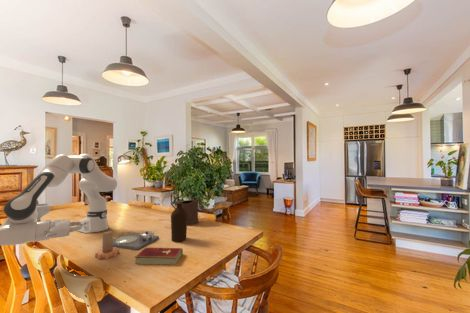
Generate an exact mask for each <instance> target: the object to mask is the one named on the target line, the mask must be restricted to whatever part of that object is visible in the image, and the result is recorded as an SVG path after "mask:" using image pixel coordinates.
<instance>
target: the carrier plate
mask: <svg viewBox="0 0 470 313" xmlns="http://www.w3.org/2000/svg"><path fill="white" fill-rule="evenodd" d="M159 239H160V236H159V235H155V233H154V232H153V231H144V232H139V233H137V232H128V233H127V232H126V233H125V234H122V235H121V236H118V237H116V238H113V248H114V247H117V248H119V249H121V248H122V249H127V250H134V251H138V250H140V249H142V248H145V247H146V246H147V245H149V244H151V243H153V242H155V241H157V240H159Z"/></svg>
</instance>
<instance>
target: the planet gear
mask: <svg viewBox="0 0 470 313" xmlns="http://www.w3.org/2000/svg"><path fill="white" fill-rule="evenodd" d="M113 239H114V231H111V230H110V231H104V232H102V240H101V241H102V243H101V244H102V245H101V246H102V248H101V249H99V250H98V251H97V252H95V253H94V258H96V260H101V259H105V260H109V258H112V257H113V258H114V257H117V256H118V254H120V248H118V247H113Z"/></svg>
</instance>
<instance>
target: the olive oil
mask: <svg viewBox="0 0 470 313" xmlns="http://www.w3.org/2000/svg"><path fill="white" fill-rule="evenodd" d="M175 208H176V209H174V210H173V211H172V212H171V215H170V227H171V230H170V231H171V234H170V236H171V241H172V243H173V242H174V243H181V242H185V241H186V240H187V231H188V230H187V229H188V226H187V212H186V211H185V210H184V209H183V208H182V200H179V201H178V200H177V201H176V206H175Z"/></svg>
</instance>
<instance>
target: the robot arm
mask: <svg viewBox="0 0 470 313" xmlns="http://www.w3.org/2000/svg"><path fill="white" fill-rule="evenodd" d="M69 174H81V176H82V177H83V178H81V179H80V180H79V182H78V189H79V190H80V191H81V192H82V193H84V194H85V196H86V197H87V200H88V211H87V212H86V213H85V214H86V217H84V218H83V219H82V220H79V221H70V219H56V220H55V219H54V220H52V219H45V220H41V222H36V221H37V217H38V213H37V209H36V204H37V201H38V199H39V198H40V196H41V195H42V194H43V193H44V192H45V190H46V189H47V188H55V187H58V186H60V185H61V184H62V183H63V182H64V181H65V179H66V178H67V177H68V175H69ZM117 187H118V182H117V180H116V178H114V177H112V176H109V175H107V174H106V173H104V172H103V171H102V170H101V169H100V167H99V165H98V163H97V162H96V161H95V159H94V158H93V157H92V156H91V155H90V154H89V153H81V154H79V155H66V154H58V155H55V156H53V158H51V159H50V160H49V161H48V162H47V163H46V165H45V166H44V167H43V168H42V170H41V171H40V172H39V173H38V175H37V176H36V177H35V178H34V179H33V180H32V181H31V182H30V183H29V184H28V185H27V186H26V187H25V188H24V189H23V190H22V191H21V192H20V193H19V194H17V195H16V196H14V197H12V198H10V199H9V200H8V201H7V202H6V203H5V204H4V206H3V212H4V214H5V216H7V218H6V219H5V221H4V222H3V223H2V224H1V225H0V246H1V247H2V246H5V247H7V246H18V245H24V244H25V243H29V242H32V243H35V242H41V241H42V242H43V241H47V240H50V239H55V238H64V237H68V236H70V233H74V232H79V233H83V234H90V233H98V232H103V231H107V230H108V229H109V226H110V225H109V221H108V216H107V215H108V208H107V198H106V197H104V196H102V195H101V194H100V193H104V192H105V193H107V192H113V191H115V190H116V189H117Z"/></svg>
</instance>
